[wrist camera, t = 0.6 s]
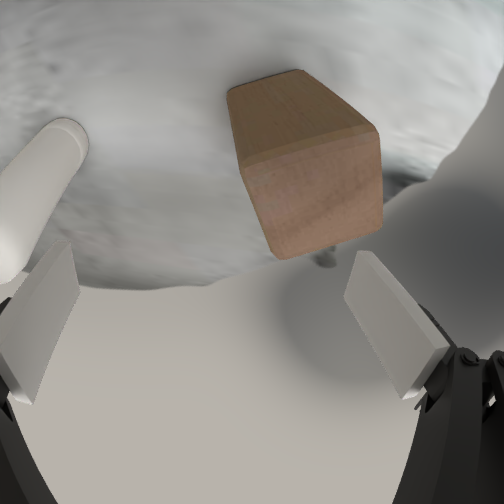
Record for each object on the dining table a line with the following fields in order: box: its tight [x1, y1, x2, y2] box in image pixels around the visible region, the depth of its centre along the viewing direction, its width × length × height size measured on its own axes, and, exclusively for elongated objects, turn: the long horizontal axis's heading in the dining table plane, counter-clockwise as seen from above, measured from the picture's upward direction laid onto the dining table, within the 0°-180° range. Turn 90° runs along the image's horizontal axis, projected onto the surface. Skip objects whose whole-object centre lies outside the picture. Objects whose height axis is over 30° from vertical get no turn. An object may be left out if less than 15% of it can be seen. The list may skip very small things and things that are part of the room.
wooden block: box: [227, 70, 383, 260], centre depth 28 cm, size 10×10×20 cm
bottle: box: [0, 118, 89, 284], centre depth 23 cm, size 8×8×30 cm
